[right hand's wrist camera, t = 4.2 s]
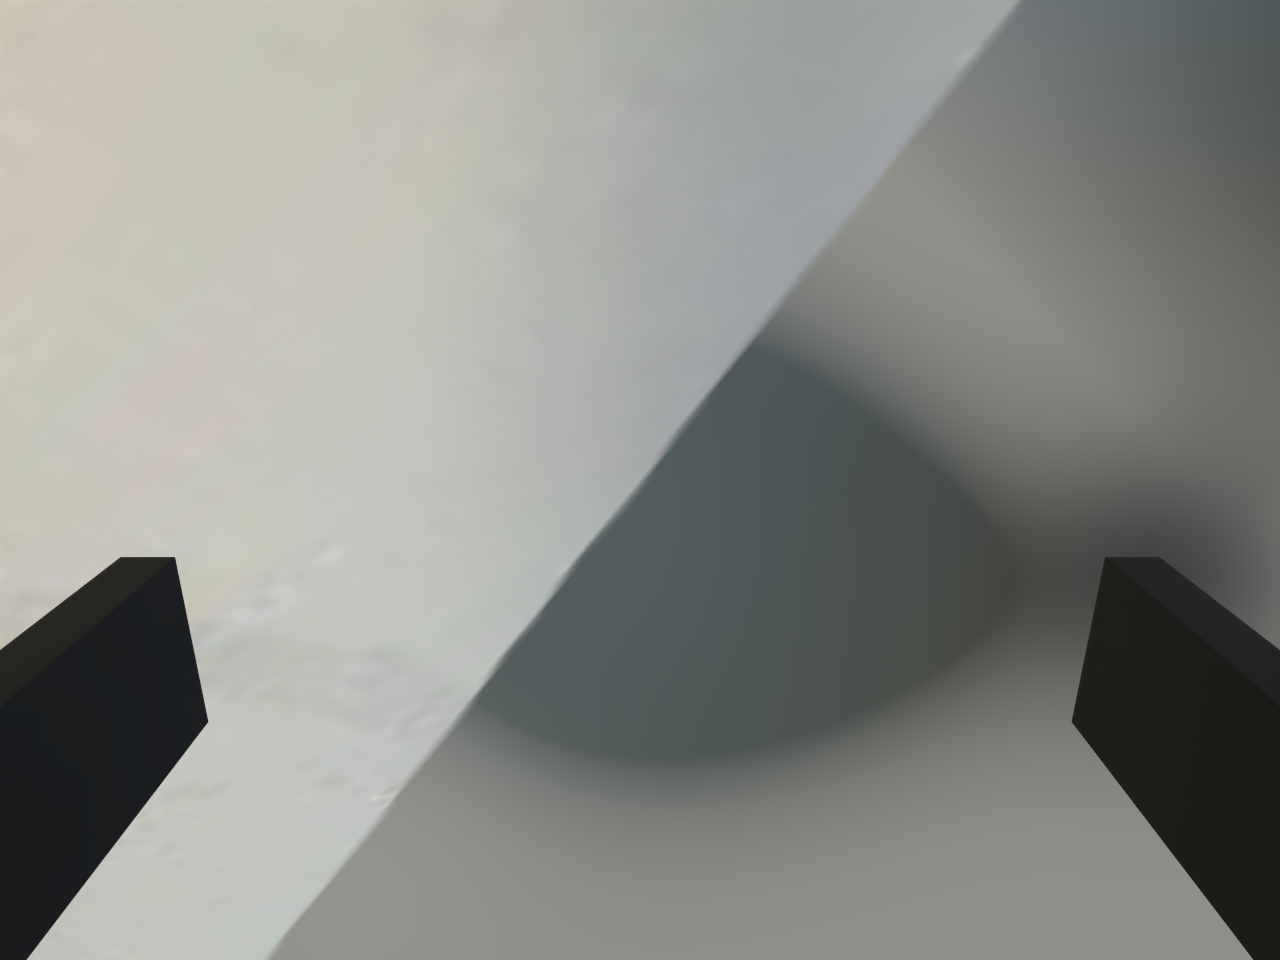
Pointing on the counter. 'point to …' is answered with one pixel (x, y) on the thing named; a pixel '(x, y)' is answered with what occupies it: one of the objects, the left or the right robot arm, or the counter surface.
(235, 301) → the counter surface
